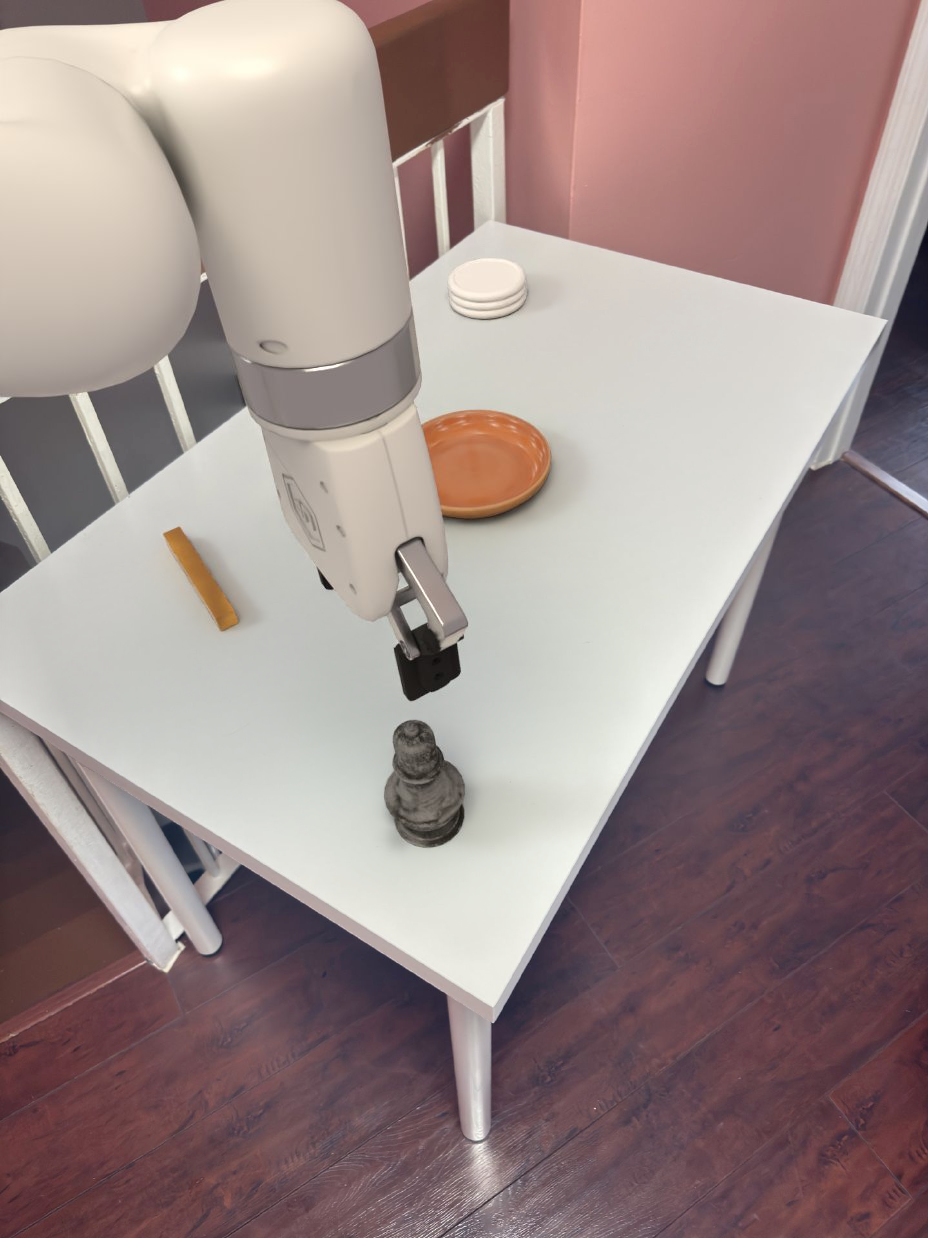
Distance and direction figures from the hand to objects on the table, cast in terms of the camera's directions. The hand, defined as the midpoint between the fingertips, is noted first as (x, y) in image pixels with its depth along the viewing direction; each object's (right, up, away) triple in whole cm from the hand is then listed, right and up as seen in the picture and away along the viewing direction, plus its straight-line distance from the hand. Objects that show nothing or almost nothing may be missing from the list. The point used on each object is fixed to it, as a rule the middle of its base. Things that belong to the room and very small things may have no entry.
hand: (388, 628), depth 50 cm
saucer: (+5, +15, +44) cm, 47 cm away
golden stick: (-21, +4, +37) cm, 42 cm away
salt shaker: (+2, -14, +18) cm, 23 cm away
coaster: (+7, +42, +68) cm, 80 cm away
